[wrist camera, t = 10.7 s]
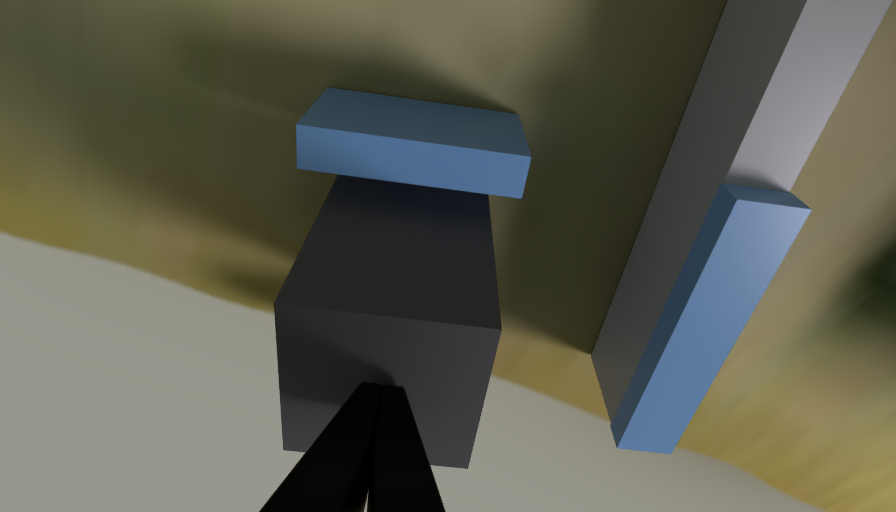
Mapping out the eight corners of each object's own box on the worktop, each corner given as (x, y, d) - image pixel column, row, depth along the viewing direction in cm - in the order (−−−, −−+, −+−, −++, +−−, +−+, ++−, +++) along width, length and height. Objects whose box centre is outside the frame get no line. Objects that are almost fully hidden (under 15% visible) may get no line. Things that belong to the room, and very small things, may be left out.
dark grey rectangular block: (486, 179, 15) (502, 329, 9) (465, 292, 17) (467, 468, 11) (345, 160, 14) (273, 303, 9) (342, 277, 17) (283, 450, 11)
